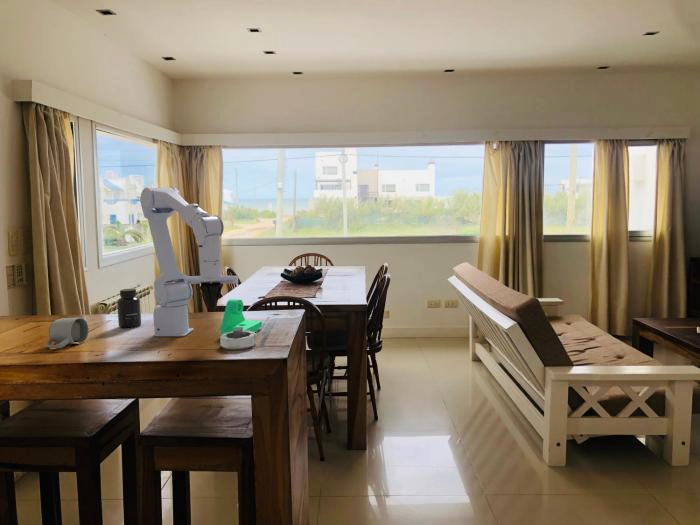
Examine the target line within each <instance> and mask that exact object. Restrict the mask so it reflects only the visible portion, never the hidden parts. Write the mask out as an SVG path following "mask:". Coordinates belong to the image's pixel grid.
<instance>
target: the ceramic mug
mask: <svg viewBox="0 0 700 525" xmlns="http://www.w3.org/2000/svg"><path fill="white" fill-rule="evenodd" d="M89 330H90V329H89V324H88V322H87V321H86V319H85V318H83V317H80V316H79V317H77V316H76V317H66V318H65V317H63V318H59V319H56V320H55V319H54V320H53V321H52V322H51V324H50V326H49V328H48V336H49V339H48V340H47V341H46V346H47V348H48V347H49V348H60V349H63V348H64V347H65V346H67V345H72V344H79V345H81V344H80V343H82V344H83V342H84V343H85V342H86V340H87V339H88V336H89V333H90V332H89ZM75 342H79V343H75ZM53 343H54V344H53ZM49 348H48V349H49Z"/></svg>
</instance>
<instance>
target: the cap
mask: <svg viewBox="0 0 700 525" xmlns="http://www.w3.org/2000/svg"><path fill="white" fill-rule="evenodd" d="M233 337H234V338H242V337H243V327H237V328H236V329H235V330H233Z"/></svg>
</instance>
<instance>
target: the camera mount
mask: <svg viewBox="0 0 700 525" xmlns="http://www.w3.org/2000/svg"><path fill="white" fill-rule="evenodd" d="M243 310H244V301H243V300H242V299H235V298H233V299H232V298H229V299H228V300H227V302H226V306H225V309H224V313H223V318H222V321H221V326H220V335H223V334H224V333H227V332H232V331H233V330H235V329H236V328H237V327H243V331H252V332H256V333H258V332H257V331H259V330H258V329H260V328H262V327H263V322H262V320H249V319H246V318H245V316H244V313H243Z"/></svg>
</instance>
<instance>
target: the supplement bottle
mask: <svg viewBox="0 0 700 525" xmlns="http://www.w3.org/2000/svg"><path fill="white" fill-rule="evenodd" d="M119 296H120V298H119V299H118V300H117V302H116V306H117V319H118V320H117V321H118V327H119V328H120V329H126V328H129V329H134V328H135V327H136V328H139V327H141V325H142V315H141V314H142V311H141V309H142V308H141V300H140V298H139V297H138V296H137V289H136V288H123V289H120V290H119ZM126 330H127V329H126Z"/></svg>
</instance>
